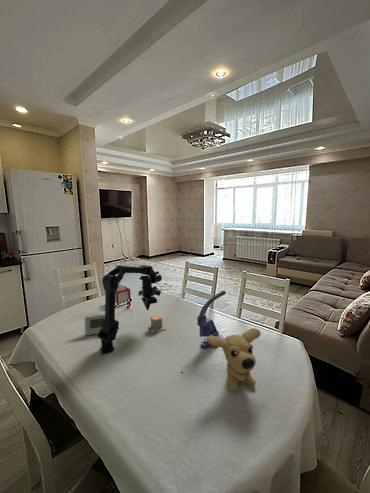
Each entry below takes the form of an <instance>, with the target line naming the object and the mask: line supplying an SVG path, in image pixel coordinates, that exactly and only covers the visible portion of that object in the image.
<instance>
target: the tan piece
mask: <svg viewBox="0 0 370 493" xmlns="http://www.w3.org/2000/svg"><path fill="white" fill-rule="evenodd" d="M147 328H148V329H149V331H150V332H151V333H152V334H155V333H159V332H163V331H165V330H166V328H165V327H164V326H163V325H162V328H161V329H157V330H154V329H153V328H152V327H151V325H148V327H147Z"/></svg>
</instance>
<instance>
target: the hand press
mask: <svg viewBox="0 0 370 493" xmlns="http://www.w3.org/2000/svg"><path fill="white" fill-rule="evenodd" d="M226 292H227V291H226V290H222V291H219V292H218V293H217V294H215V295H213V296H212V297H211V298H210V299H208V300H207V301H206V303H204V304H203V306H202V308H201V309H200V312H199V315H198V316H197V318H196V319H197V321H196V322H197V326H198V327H199V336H200V337H201V338H203V337H204V338H203V339H202V340H201V341H200V348H201V349H204V350H207V349H210V348H214V349H216V348H217V347H218V346H212V345H210V344H209V343H208V342H207V337H209V336H210V335H212V336H216V337H220V338H223V339H224V338H225V337H224V336H223V335H222V334H220V333H219V330H218V329H217V326H216V325H215V323H214V321H213V319H211V318H209V317H207V315H206V313H207V311H208V309H209V307H210V305H212V303H213V302H215V301H216V300H217V299H219V298H220V297H223V296H225V295H226ZM218 348H219V347H218Z"/></svg>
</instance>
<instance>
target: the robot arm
mask: <svg viewBox="0 0 370 493" xmlns="http://www.w3.org/2000/svg"><path fill="white" fill-rule="evenodd" d="M116 266H117V267H116ZM116 266H115V268H114V269H112V270H110V271H109V272H108V273H107V274H105V275H104V276H103V277H102V281H101V282H102V287H103V289H104V291H105V302H104V306H105V307H104V308H105V309H104V310H105V311H104V314H105V319H104V321H103V323H102V328H101V330H100V331H99V333H98V334H96V336H97V338H98V339H100V344H101V345H100V346H101V347H100V348H99V349H100V353H101V355H105V354H109V353H112V352H115V351H116V349H115V347H114V341H115V340H116V337H117V334H118V330H119V329H120V328H119V325H120V323H119V322H120V321H119V320H116V315H115V314H116V305H115V292H116V290H117V288H118V286H119V282H121V281H122V280H123V278H124V276H125V274H141V276H140V277H139V280H141V282H142V283H141V288H140V289H141V290H139V291H138V296H139V297H141V301H142V302H143V305H144V307H145V309H146V311H149V310H150V306H151V305H154V304H157V303H158V299H157V298H156V297H155V296H158V297H160V296H161V293H162V290H160V289H159V288H158V287H157V286H155V284H157V283H160V282H161V281H162V279H163V278H162V275H161V273H160V271H155V270H154V268H153V266H152V265H146V264H141V265H138V266H135V265H134V266H133V265H122V264H121V265H120V264H119V266H118V265H116Z"/></svg>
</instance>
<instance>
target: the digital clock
mask: <svg viewBox="0 0 370 493" xmlns="http://www.w3.org/2000/svg"><path fill="white" fill-rule="evenodd" d="M104 319H105V313H99V314H92V315H87V316H85V317H84V334H85V336H93V335H92V334H95V335H98V333H99V331H100V330H101V328H102V323H103V321H104Z"/></svg>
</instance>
